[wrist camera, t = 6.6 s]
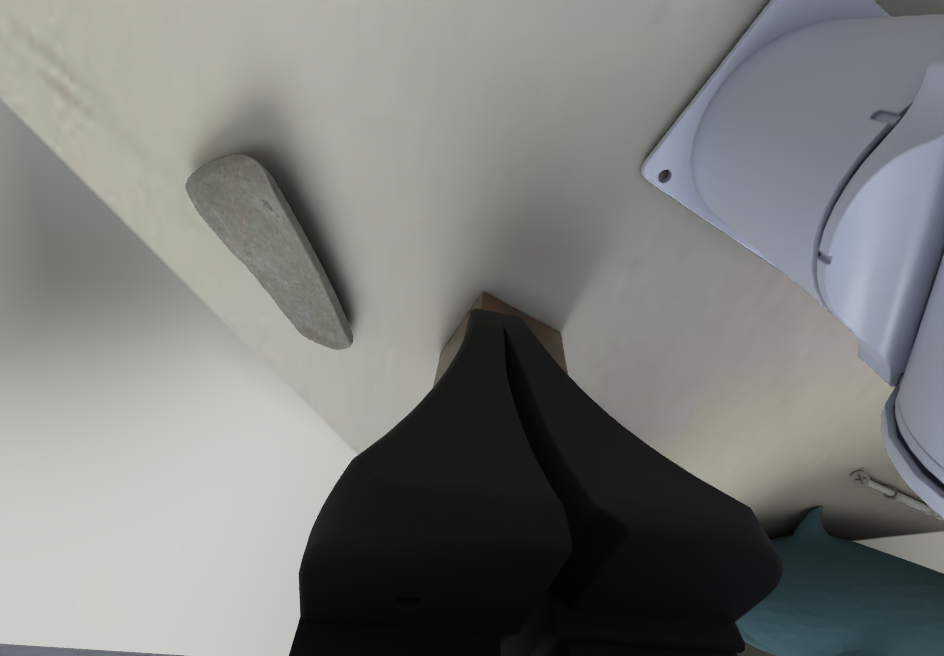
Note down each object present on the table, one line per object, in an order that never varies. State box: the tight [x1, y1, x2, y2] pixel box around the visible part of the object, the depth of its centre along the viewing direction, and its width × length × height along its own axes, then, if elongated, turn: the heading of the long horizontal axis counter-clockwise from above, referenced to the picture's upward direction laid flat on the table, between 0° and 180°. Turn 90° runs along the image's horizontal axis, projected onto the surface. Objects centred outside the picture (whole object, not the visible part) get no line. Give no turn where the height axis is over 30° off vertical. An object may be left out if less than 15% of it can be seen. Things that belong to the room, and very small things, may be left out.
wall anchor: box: [851, 471, 944, 521], centre depth 28 cm, size 1×9×1 cm, turn 62°
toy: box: [735, 506, 944, 656], centre depth 30 cm, size 11×26×15 cm
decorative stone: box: [186, 154, 353, 350], centre depth 20 cm, size 11×1×5 cm
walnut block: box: [433, 292, 568, 387], centre depth 21 cm, size 5×5×5 cm
